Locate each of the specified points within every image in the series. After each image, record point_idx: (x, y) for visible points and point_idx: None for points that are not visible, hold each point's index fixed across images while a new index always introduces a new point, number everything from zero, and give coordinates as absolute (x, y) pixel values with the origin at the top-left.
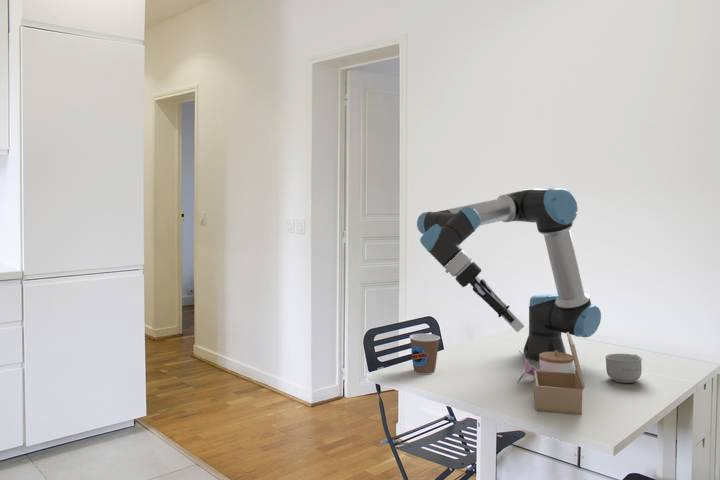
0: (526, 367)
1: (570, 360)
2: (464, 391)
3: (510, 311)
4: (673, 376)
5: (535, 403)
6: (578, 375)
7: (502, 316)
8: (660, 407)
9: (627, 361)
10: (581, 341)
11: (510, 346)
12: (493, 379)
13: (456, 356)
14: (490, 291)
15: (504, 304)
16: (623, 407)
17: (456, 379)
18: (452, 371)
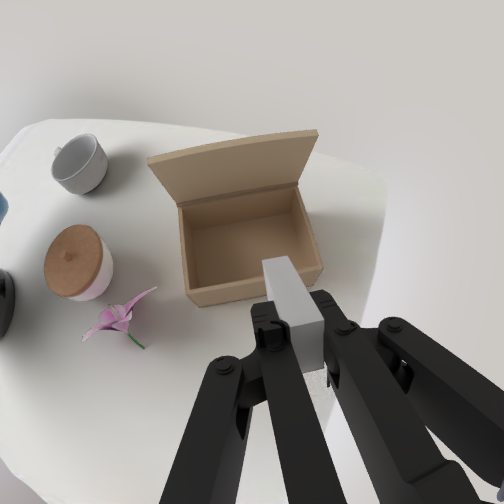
0: (122, 324)
1: (91, 228)
2: (251, 448)
3: (300, 311)
4: (72, 137)
5: None
6: (243, 187)
7: (323, 361)
8: (205, 129)
9: (96, 145)
10: None
11: None
12: (136, 401)
13: (35, 463)
14: (455, 470)
15: (241, 367)
16: None
17: None
18: (121, 482)
